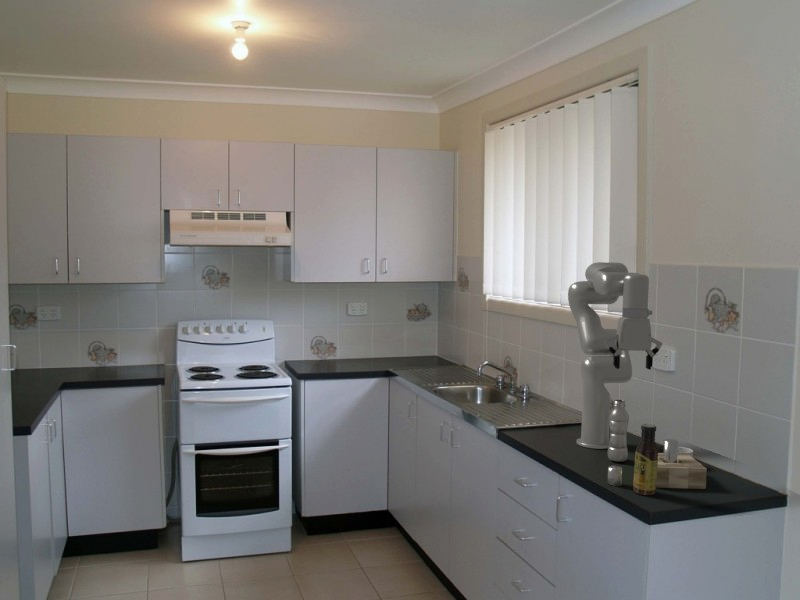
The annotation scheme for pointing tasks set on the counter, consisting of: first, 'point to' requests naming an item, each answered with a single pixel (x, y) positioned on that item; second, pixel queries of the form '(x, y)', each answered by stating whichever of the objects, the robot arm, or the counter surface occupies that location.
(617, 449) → the plastic bottle
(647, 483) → the sauce bottle
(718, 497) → the counter surface
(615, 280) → the robot arm
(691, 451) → the teacup
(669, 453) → the long pin
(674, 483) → the hole block
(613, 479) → the short pin
